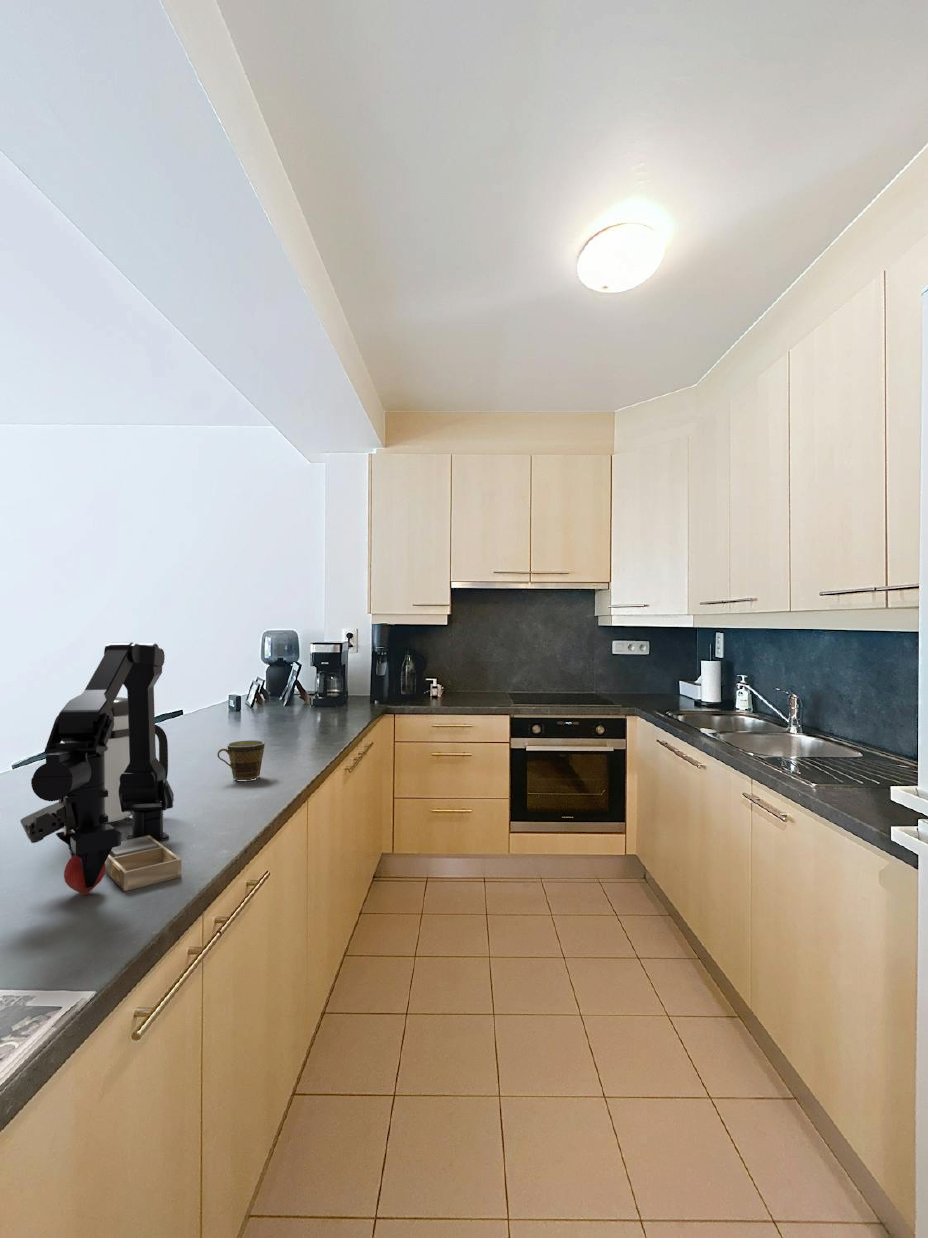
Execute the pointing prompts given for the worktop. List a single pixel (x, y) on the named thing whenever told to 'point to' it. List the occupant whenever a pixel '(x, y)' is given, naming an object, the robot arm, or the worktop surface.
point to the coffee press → (123, 759)
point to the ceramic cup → (245, 758)
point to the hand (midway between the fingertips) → (85, 881)
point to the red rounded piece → (78, 876)
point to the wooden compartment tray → (141, 863)
